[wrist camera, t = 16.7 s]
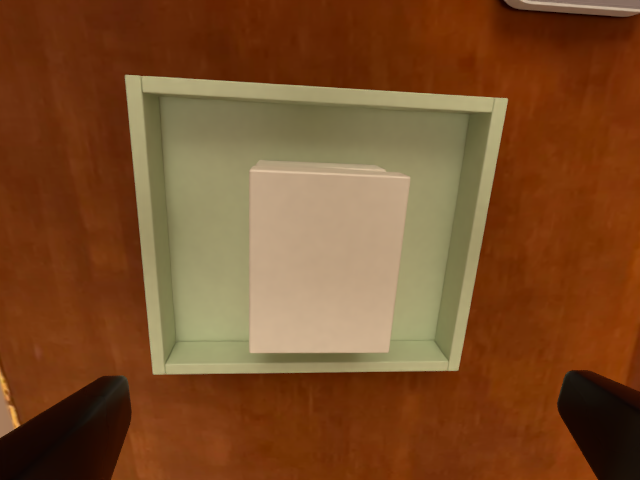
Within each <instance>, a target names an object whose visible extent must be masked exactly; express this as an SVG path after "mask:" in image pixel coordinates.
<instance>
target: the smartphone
mask: <svg viewBox="0 0 640 480" xmlns="http://www.w3.org/2000/svg"><path fill="white" fill-rule="evenodd" d="M504 1H505V2H506V3H507V4H508V5H510V6H511V7H513V8H517V9H524V10H537V11H551V12H564V13H578V14H592V15H605V16H619V17H628V16H633V15H636V14H639V13H640V0H504Z"/></svg>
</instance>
